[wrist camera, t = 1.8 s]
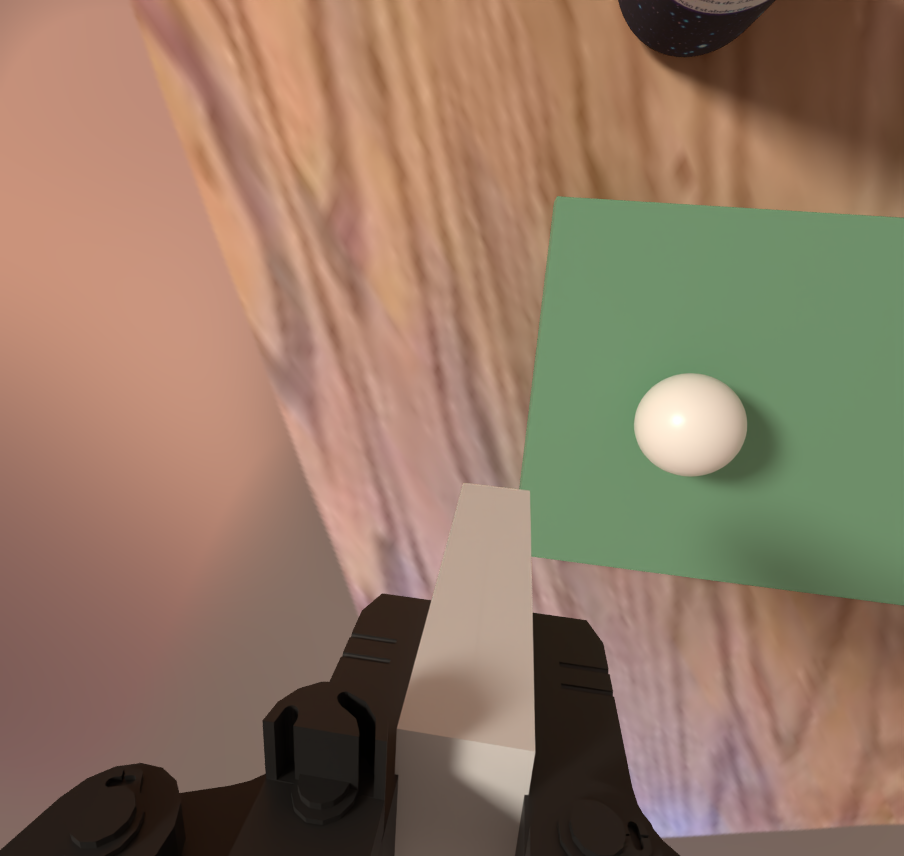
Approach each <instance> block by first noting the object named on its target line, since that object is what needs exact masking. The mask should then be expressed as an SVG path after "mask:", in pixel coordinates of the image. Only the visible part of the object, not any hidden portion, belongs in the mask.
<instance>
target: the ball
mask: <svg viewBox="0 0 904 856" xmlns="http://www.w3.org/2000/svg"><path fill="white" fill-rule="evenodd" d="M634 431H635V436H636V439H637V442H638V445H639V447H640V449H641V450H642V452H643V453H644V455H645V456H646V457H647V458H648V459H649V460H650V461H651V462H652V463H653V464H654V465H656V466H657V467H659V468H660V469H662V470H664V471H666V472H669V473H672V474H675V475H680V476H689V477H691V476H701V475H706V474H709V473H712V472H715V471H717V470H719V469H721V468H723V467H724V466H725V465H727V464H728V463H729V462H730V461H732V460H733V459H734V457H735V456H736V455H737V454H738V452H739V451H740V449H741V447H742V445H743V443H744V440H745V437H746V433H747V417H746V412H745V409H744V407H743V404H742V402H741V400H740V399H739V397H738V396H737V395H736V393H735V392H734V391H733V390H732V389H731V388H730V387H728V386H727V385H726V384H725V383H723V382H721V381H720V380H718V379H715V378H713V377H711V376H707V375H703V374H696V373H686V374H679V375H674V376H671V377H668V378H666V379H664V380H662V381H660V382H659V383H657V384H656V385H654V386H653V387H652V388H651V389H650V390H649V391H648V392H647V393H646V394H645V395H644V397H643V398H642V400H641V401H640V403H639V405H638V407H637V410H636V414H635V420H634Z"/></svg>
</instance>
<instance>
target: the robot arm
mask: <svg viewBox="0 0 904 856" xmlns="http://www.w3.org/2000/svg"><path fill="white" fill-rule="evenodd" d="M263 736H264V752H265V769H266V774H264V775H262V776H260V777H257V778H255V779H253V780H251V781H247V782H244V783H239V784H235V785H231V786H225V787H218V788H212V789H206V790H198V791H192V792H185V793H179V790H178V786H177V781H176V780H175V779H174V778H173V777H172V776H171V775H169V773H168V772H166V771H165V770H164V769H163V768H161V767H156V766H152V765H147V764H143V763H138V764H131V765H124V766H117V767H113V768H111V769H109V770H106V771H104V772H101V773H99V774H97V775H94V776H92V777H89V778H87V779H86V780H85V781H83V782H81V783H80V784H79V785H77V786H76V787H74V788H73V789H71V790H70V791H69V792H67V793H66V794H64V795H63V796H62V797H60V798H59V799H58V800H57V801H56V802H54V803H53V804H52V805H51V806H50V807H49V808H48V809H46V810H45V811H44V812H43V813H42V814H41V815H40V816H38V817H37V818H36V819H35V820H34V821H33V822H32V823H31V824H29V825H28V826H27V827H26V828H25V829H24V830H23V831H21V832H20V833H19V834H18V835H17V836H16V837H15V838H14V839H12V840H11V841H10V842H9V843H8V844H7V845H6V846H5V847H3V848H2V849H1V850H0V856H680V855H679V854H678V853H676V852H675V851H674V850H673V849H672V848H671V847H669V846H668V845H667V844H666V843H665V842H664V841H663V840H662V839H661V838H660V837H659V835H658V834H657V833H656V832H655V830H654V829H653V827H652V825H651V823H650V822H649V820H648V819H647V818H646V817H645V815H644V814H643V813H642V811H641V809H640V808H639V806H638V804H637V801H636V798H635V795H634V791H633V788H632V784H631V779H630V774H629V769H628V764H627V759H626V754H625V749H624V744H623V739H622V734H621V729H620V724H619V719H618V714H617V709H616V704H615V699H614V697H613V689H612V684H611V679H610V674H608V665H607V660H606V655H605V650H604V645H603V642H602V641H601V640H600V638H599V637H598V636H597V634H596V633H595V631H594V630H593V629H592V627H591V626H590V625H589V623H588V622H587V620H581V619H573V618H566V617H559V616H552V615H545V614H538V613H532V565H531V516H530V491H529V490H520V489H512V488H503V487H495V486H486V485H478V484H469V483H463V486H462V489H461V493H460V497H459V500H458V504H457V508H456V512H455V515H454V519H453V523H452V526H451V530H450V534H449V537H448V541H447V545H446V549H445V552H444V556H443V560H442V563H441V567H440V571H439V574H438V578H437V582H436V585H435V589H434V593H433V597H432V600H425V599H418V598H411V597H404V596H396V595H389V594H381V595H380V596H379V597H377V598H376V599H375V600H374V601H373V602H372V603H370V604H369V605H368V606H367V607H366V608H365V609H363V610H362V612H361V614H360V616H359V618H358V621H357V623H356V625H355V627H354V629H353V632H352V636H351V637H350V638H349V640H348V643H347V645H346V647H345V649H344V652H343V656H342V657H341V658H340V660H339V662H338V664H337V667H336V669H335V671H334V673H333V675H332V678H331V680H330V682H319V683H316V684H313V685H309V686H306V687H302V688H299V689H297V690H296V691H294V692H293V693H291V694H289V695H288V696H286V697H285V698H283V699H282V700H280V701H278V702H277V704H276V705H275V706H274V707H273V708H272V710H271V711H270V712H269V713H268V715H267V716H266V717H265V718H264V719H263Z"/></svg>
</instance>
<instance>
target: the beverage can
mask: <svg viewBox="0 0 904 856" xmlns="http://www.w3.org/2000/svg"><path fill="white" fill-rule="evenodd" d="M618 1H619V5H620V8H621V11H622V14H623V16H624V18H625V21H626V22H627V24H628V26H629V27H630V29H631V30H632V32H633V33H634V34H635V35H636V36H637V37H638V38H639V39H640V40H641V41H642V42H643V43H644V44H645V45H647V46H648V47H650V48H652V49H653V50H655V51H658V52H660V53H663V54H666V55H670V56H676V57H692V56H698V55H703V54H706V53H709V52H712V51H715V50H717V49H719V48H721V47H723V46H725V45H726V44H728V43H730V42H731V41H733V40H734V39H735V38H737V37H738V36H739V35H740V34H741V33H743V32H744V31H745V30H746V29H747V28H748V27H749V26H750V25H751V24H752V23H753V22H754V21H755V20H756V19H757V18H758V17H759V16H760V15H761V14H762V13H763V12H764V11H765V10H766V9H767V8H768V7H769V6H770V5H771V4H772V3H773V2H774V1H775V0H618Z"/></svg>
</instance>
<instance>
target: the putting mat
mask: <svg viewBox="0 0 904 856" xmlns="http://www.w3.org/2000/svg"><path fill="white" fill-rule="evenodd" d="M686 373H696V374H703V375H707V376H711V377H713V378H715V379H718V380H720V381H721V382H723V383H725V384H726V385H727V386H728V387H730V388H731V389H732V390H733V391H734V392H735V393H736V395H737V396H738V397H739V399H740V400H741V402H742V404H743V407H744V409H745V412H746V417H747V433H746V437H745V440H744V443H743V445H742V447H741V449H740V451H739V452H738V454H737V455H736V456H735V457H734V459H733V460H732V461H730V462H729V463H728V464H727V465H725V466H724V467H723V468H721V469H719V470H717V471H715V472H712V473H709V474H706V475H701V476H691V477H689V476H680V475H675V474H672V473H669V472H666V471H664V470H662V469H660V468H659V467H657V466H656V465H654V464H653V463H652V462H651V461H650V460H649V459H648V458H647V457H646V456H645V455H644V453H643V452H642V450H641V449H640V447H639V445H638V442H637V439H636V436H635V431H634V420H635V414H636V410H637V407H638V405H639V403H640V401H641V400H642V398H643V397H644V395H645V394H646V393H647V392H648V391H649V390H650V389H651V388H652V387H653V386H654V385H656V384H657V383H659V382H660V381H662V380H664V379H666V378H668V377H671V376H674V375H679V374H686ZM519 489H520V490H529V491H530V516H531V556H532V557H539V558H547V559H554V560H562V561H570V562H577V563H585V564H592V565H600V566H608V567H615V568H623V569H630V570H638V571H646V572H653V573H661V574H668V575H676V576H683V577H691V578H699V579H706V580H714V581H721V582H729V583H737V584H744V585H752V586H759V587H767V588H775V589H782V590H790V591H797V592H805V593H813V594H820V595H828V596H835V597H843V598H850V599H858V600H866V601H873V602H881V603H888V604H896V605H904V218H899V217H882V216H866V215H850V214H834V213H817V212H801V211H785V210H769V209H752V208H736V207H720V206H704V205H687V204H671V203H655V202H639V201H623V200H606V199H590V198H574V197H558V196H557V198H556V199H555V201H554V207H553V216H552V224H551V232H550V240H549V249H548V257H547V265H546V273H545V282H544V290H543V298H542V306H541V315H540V323H539V331H538V339H537V348H536V356H535V364H534V372H533V380H532V389H531V397H530V405H529V413H528V422H527V430H526V438H525V446H524V455H523V463H522V471H521V479H520V488H519Z"/></svg>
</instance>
